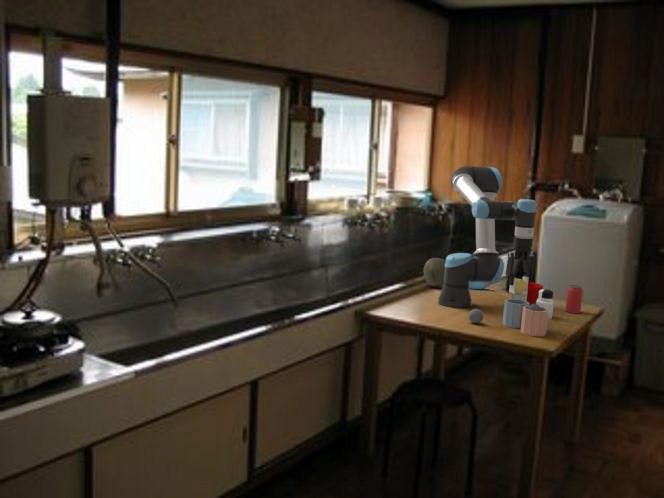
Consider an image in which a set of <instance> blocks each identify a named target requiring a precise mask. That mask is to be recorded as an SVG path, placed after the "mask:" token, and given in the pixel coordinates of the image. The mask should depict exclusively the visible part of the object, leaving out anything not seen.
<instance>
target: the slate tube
mask: <svg viewBox="0 0 664 498" xmlns="http://www.w3.org/2000/svg"><path fill="white" fill-rule="evenodd" d="M503 302H504V304H503V313H502V323H501V324H502V325H503V326H505V327H508V328H512V329H521V321H522V312H523V307H524V306H529V302H527V301H524V300H519V299H512V298H508V299H505V300H504V301H503Z"/></svg>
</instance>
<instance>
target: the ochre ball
mask: <svg viewBox="0 0 664 498" xmlns="http://www.w3.org/2000/svg"><path fill="white" fill-rule="evenodd" d="M525 289H526V283H525V281H524V280H522V278H516V288H515V293H522V292H524V291H525Z"/></svg>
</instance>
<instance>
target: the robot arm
mask: <svg viewBox="0 0 664 498" xmlns="http://www.w3.org/2000/svg"><path fill="white" fill-rule="evenodd" d="M450 186H451V187H452V189H453V190H454V191H455V192H456V193H457V194H460V195H461V196H462V197H463V198H464V199H465V200H466V201H467V203H468V204H469V205H470V206H471V213H472V216H473V217H474V219H475V246H476V247H475V249H476V250H475V251H474V252H473V253H472V254H471V253H468V252H456V253H451V254H450V253H449V255H447V256H446V258H445V260H446V263H445V273H444V285H443V287H442V289H441V292H440V294H439V295H438V299H437V303H438V304H439V305H442V306H445V307H450V308H457V309H459V308H460V309H461V308H470V307H471V306H472V303H473V302H472V297H471V292H470V288H469V283H470V282H487V283H489V284H491V283H497V282H499V281H500V280H501V278H502V276H503V274H504V269H505V276H507V277H509V278H508V279H509V280H508V285H509V289H508V293H511V294H512V293H513V294H515V288H516V279H517V277H516V275H517V272H518V270H519V266H520V263H521V262H522V266H523V276H522V278H521V279H522V280H524V281H525V283H526V289H525V291H524V293H527V288H528V284H529V282H530V278H532V277H533V276H534V275H535V262H536V260H535V259H536V255H537V252H536V251H533V250H532V249H531V248H532V247H533V241H534V239H533V238H534V233H535V223H536V215H537V214H536V213H537V201H536V200H534V199H528V198H527V199H526V198H520V199H518V201H516V200H513V201H512V200H509V201H501V200H499V201H498V200H497V201H496V200H495V198H496V197H498V193H499V192H500V191H501V189H502V186H503V179H502V174H501V172H500V171H499V169H498V168H496V167H491V166H473V165H463V166H460V167H459V168H457V169H455V170H454V171H453V173H452V174H451V176H450ZM495 220H509V221H515V223H514V224H515V226H514V234H513V235H514V237H513V247H514V249H513V250H512V251H507V260H506V261H507V262H506V263H507V264H506V268H505V263H504V260H503V258H502V257H500V256H499V252H498V251H497V250H496V230H495V229H496V228H495V227H496V223H495V222H496V221H495Z"/></svg>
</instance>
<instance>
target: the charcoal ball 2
mask: <svg viewBox="0 0 664 498" xmlns="http://www.w3.org/2000/svg"><path fill="white" fill-rule="evenodd" d="M527 309H528V310H533V311H542V309H541V307H540V306H539V305H537V304H531V305H530V306H528V308H527Z"/></svg>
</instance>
